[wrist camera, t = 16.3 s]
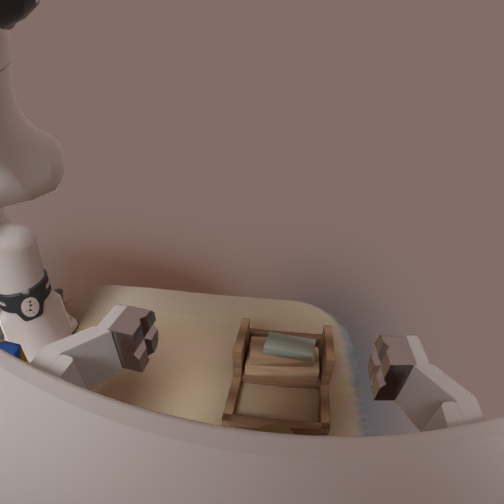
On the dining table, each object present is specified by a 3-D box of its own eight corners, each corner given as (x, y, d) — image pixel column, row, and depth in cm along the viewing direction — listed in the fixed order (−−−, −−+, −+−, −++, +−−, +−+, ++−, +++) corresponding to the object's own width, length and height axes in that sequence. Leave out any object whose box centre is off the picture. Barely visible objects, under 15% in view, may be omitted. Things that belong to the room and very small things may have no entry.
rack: (327, 434, 35) (339, 406, 32) (222, 425, 37) (220, 395, 34) (323, 351, 52) (330, 321, 49) (243, 344, 53) (243, 313, 51)
